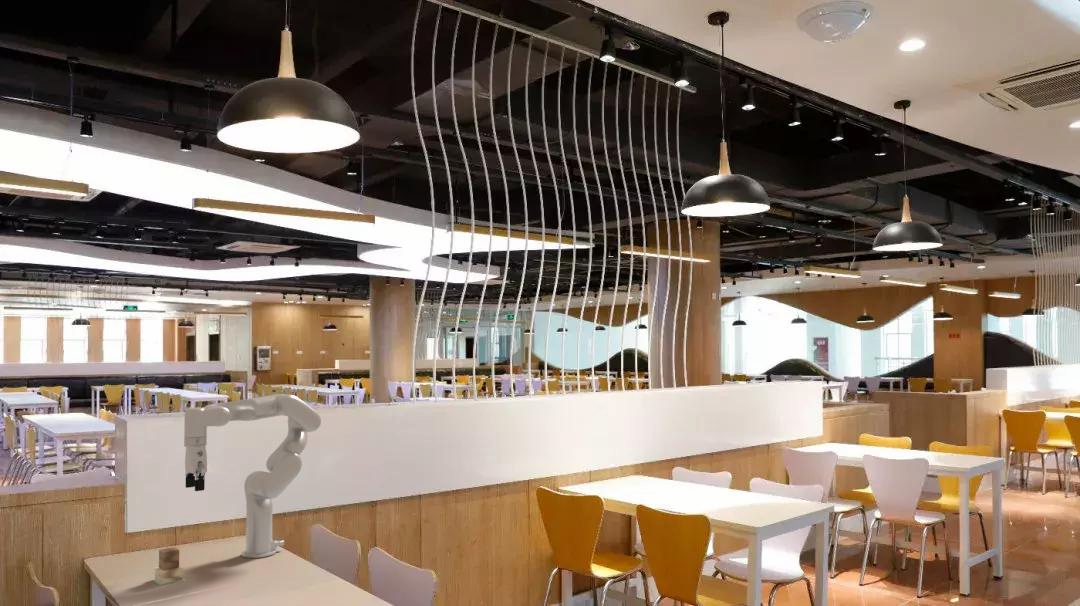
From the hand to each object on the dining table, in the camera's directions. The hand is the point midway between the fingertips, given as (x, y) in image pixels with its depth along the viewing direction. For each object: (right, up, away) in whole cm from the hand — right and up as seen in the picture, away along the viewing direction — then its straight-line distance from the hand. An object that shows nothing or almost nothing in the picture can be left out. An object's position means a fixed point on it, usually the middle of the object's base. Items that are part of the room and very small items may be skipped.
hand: (194, 488), depth 283 cm
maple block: (-1, -27, -18) cm, 32 cm away
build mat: (-1, -27, -18) cm, 33 cm away
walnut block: (-1, -23, -18) cm, 29 cm away
